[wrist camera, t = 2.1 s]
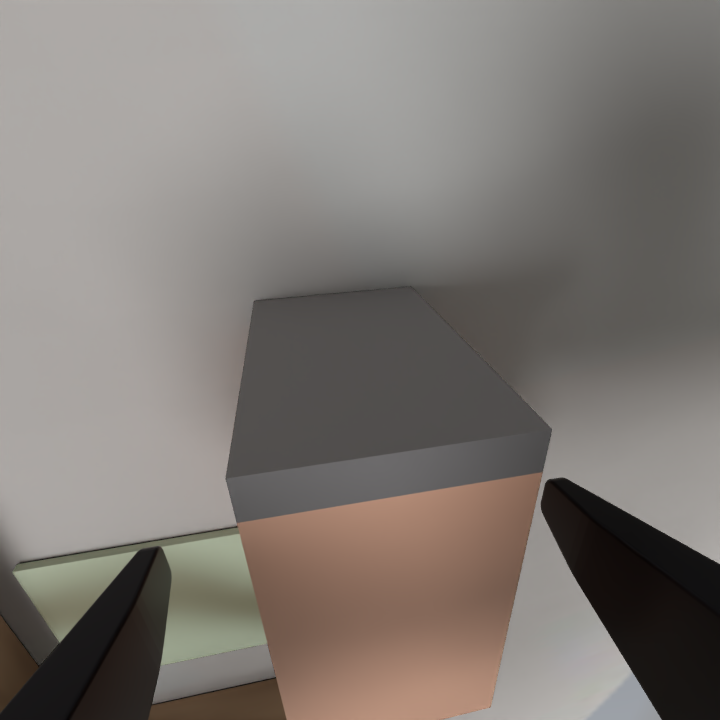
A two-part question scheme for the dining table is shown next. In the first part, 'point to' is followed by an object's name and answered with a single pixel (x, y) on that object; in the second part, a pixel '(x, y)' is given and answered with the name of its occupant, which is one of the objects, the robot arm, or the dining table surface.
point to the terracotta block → (380, 505)
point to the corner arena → (184, 620)
